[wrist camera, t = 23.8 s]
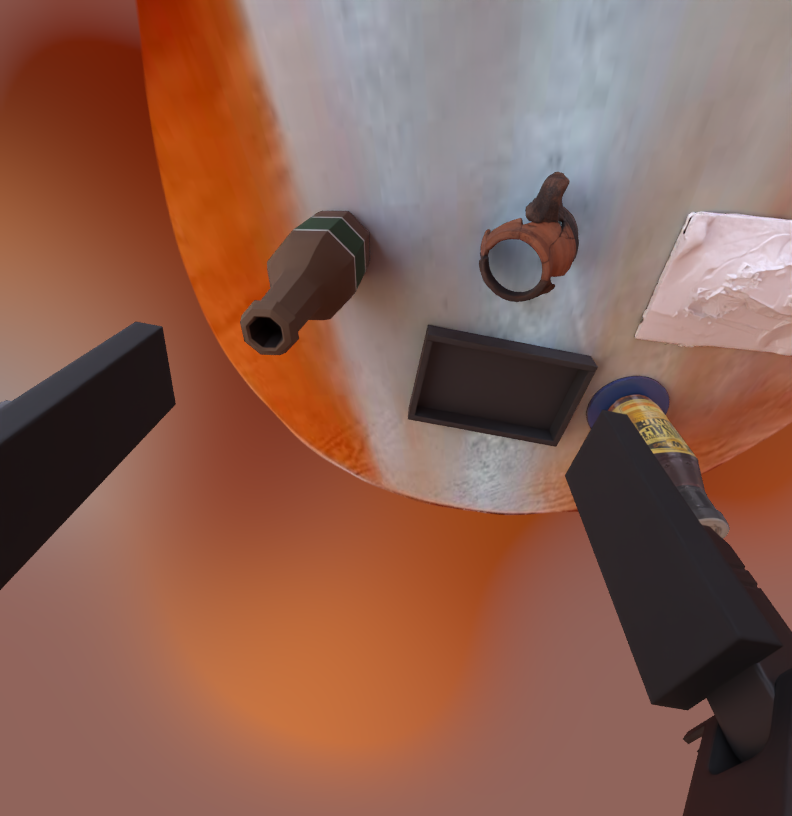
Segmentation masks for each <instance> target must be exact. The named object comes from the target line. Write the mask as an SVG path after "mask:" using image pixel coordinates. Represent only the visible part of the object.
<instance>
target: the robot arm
mask: <svg viewBox="0 0 792 816" xmlns="http://www.w3.org/2000/svg"><path fill="white" fill-rule="evenodd" d="M175 404H176V403H175V397H174V392H173V386H172V380H171V374H170V368H169V362H168V356H167V351H166V345H165V339H164V333H163V327H162V326H156V325H151V324H146V323H140V322H134V323H133V324H131V325H130V326H128V327H127V328H125V329H123V330H122V331H121V332H119V333H117V334H116V335H114V336H113V337H111V338H109V339H108V340H106V341H105V342H103V343H102V344H100V345H99V346H97V347H96V348H94V349H92V350H91V351H89V352H88V353H86V354H84V355H83V356H81V357H80V358H78V359H77V360H75V361H74V362H72V363H70V364H69V365H67V366H66V367H64V368H63V369H61V370H60V371H58V372H56V373H55V374H53V375H52V376H50V377H49V378H47V379H45V380H44V381H42V382H41V383H39V384H38V385H36V386H35V387H33V388H31V389H30V390H28V391H27V392H25V393H24V394H22V395H21V396H19V397H18V398H16V399H14V400H13V401H8V400H6V401H4V402H1V403H0V590H1V589H2V588H3V587H4V585H5V584H6V583H7V582H8V581H9V580H10V579H11V578H12V577H13V576H14V575H15V574H16V573H17V572H18V571H19V570H20V569H21V567H22V566H23V565H24V564H25V563H26V562H27V561H28V560H29V559H30V558H31V557H32V556H33V555H34V554H35V553H36V552H37V550H39V548H40V547H41V546H42V545H43V544H44V543H45V542H46V541H47V540H48V539H49V538H50V537H51V536H52V535H53V534H54V532H55V531H56V530H57V529H58V528H59V527H60V526H61V525H62V524H63V523H64V522H65V521H66V520H67V518H69V517H70V515H72V513H73V512H74V511H75V510H76V509H77V508H78V507H79V506H80V505H81V504H82V503H83V502H84V501H85V500H86V499H87V498H88V496H89V495H90V494H91V493H92V492H93V491H94V490H95V489H96V488H97V487H98V486H99V485H100V484H101V483H102V482H103V481H104V480H105V478H107V476H108V475H109V474H110V473H111V472H112V471H113V470H114V469H115V468H116V467H117V466H118V465H119V464H120V463H121V462H122V460H123V459H124V458H125V457H126V456H127V455H128V454H129V453H130V452H131V451H132V450H133V449H134V448H135V447H136V446H137V445H138V444H139V442H140V441H141V440H142V439H143V438H144V437H145V436H146V435H147V434H148V433H149V432H150V431H151V430H152V429H153V428H154V427H155V426H156V425H157V423H158V422H159V421H160V420H161V419H162V418H163V417H164V416H165V415H166V414H167V413H168V412H169V411H170V410H171V408H173V406H174V405H175ZM565 477H566V479H567V482H568V485H569V487H570V490H571V493H572V495H573V498H574V501H575V503H576V506H577V509H578V511H579V514H580V517H581V519H582V522H583V524H584V527H585V530H586V532H587V535H588V538H589V540H590V543H591V546H592V548H593V551H594V554H595V556H596V559H597V562H598V564H599V567H600V569H601V572H602V575H603V577H604V580H605V583H606V585H607V588H608V590H609V593H610V596H611V599H612V601H613V604H614V606H615V609H616V612H617V614H618V617H619V620H620V622H621V625H622V627H623V630H624V633H625V636H626V638H627V641H628V644H629V646H630V649H631V652H632V654H633V657H634V659H635V662H636V665H637V667H638V670H639V673H640V675H641V678H642V680H643V683H644V685H645V688H646V691H647V694H648V696H649V699H650V701H651V704H653V705H659V706H665V707H671V708H677V709H683V710H689V709H690V708H692V707H693V706H695V705H696V704H698V703H699V702H701V701H702V700H704V699H705V698H707V700H708V702H709V704H710V706H711V708H712V710H713V712H714V714H715V715H714V716H712V717H711V718H709V719H708V720H706V721H704V722H703V723H701V724H699V725H698V726H696V727H695V728H693V729H691V730H690V731H688V732H687V734H686V735H685V736H684V738H683V740H684V741H686V742H687V743H688V744H689V743H691V742H693V741H695V740H696V739H698V738H700V737H702V740H701V744H700V748H699V750H698V751H697V752H698V756H697V760H696V764H695V768H694V772H693V776H692V780H691V784H690V788H689V793H688V797H687V801H686V805H685V809H684V813H683V816H792V632H791V630H790V629H789V628H788V626H787V625H786V623H785V622H784V620H783V619H782V618H781V616H780V615H779V613H778V612H777V611H776V609H775V608H774V606H773V605H772V604H771V602H770V601H769V599H768V598H767V596H766V595H765V594H764V592H763V591H762V590H761V588H758V587H757V582H756V581H755V580H754V578H753V577H752V575H751V574H750V573H749V571H747V570H745V569H744V568H745V566H744V564H743V563H742V561H741V560H740V559H739V557H738V556H737V554H736V553H735V552H734V550H733V549H732V547H731V546H730V545H729V544H728V543H727V542H726V541H725V540H724V539H723V538H722V537H720V536H719V535H718V534H717V533H716V532H715V531H714V530H713V529H712V528H711V527H710V526H706V525H702V524H701V523H700V521H699V520H698V519H697V517H696V516H695V514H694V513H693V511H692V510H691V508H690V507H689V505H688V504H687V502H686V501H685V499H684V498H683V496H682V495H681V493H680V492H679V490H678V489H677V488H676V486H675V485H674V483H673V482H672V480H671V479H670V477H669V476H668V474H667V473H666V471H665V470H664V468H663V467H662V465H661V464H660V462H659V461H658V459H657V458H656V457H655V455H654V454H653V452H652V451H651V449H650V448H649V446H648V445H647V443H646V442H645V440H644V439H643V437H642V436H641V434H640V433H639V431H638V430H637V428H636V427H635V425H634V424H633V423H632V421H631V420H630V418H629V417H628V415H627V414H622V413H617V412H612V411H606V410H602V411H601V413H600V415H599V416H598V418H597V420H596V422H595V423H594V425H593V427H592V429H591V430H590V432H589V434H588V436H587V438H586V439H585V441H584V443H583V445H582V446H581V448H580V450H579V452H578V453H577V455H576V457H575V459H574V460H573V462H572V464H571V466H570V468H569V469H568V471H567V473H566V475H565Z"/></svg>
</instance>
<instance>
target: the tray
mask: <svg viewBox="0 0 792 816" xmlns="http://www.w3.org/2000/svg"><path fill="white" fill-rule="evenodd" d="M597 368H598V366H597V365H596V363H595V362H594V361H593V359H592V358H591V356H587V355H582V354H576V353H571V352H566V351H561V350H556V349H551V348H545V347H540V346H535V345H530V344H525V343H520V342H514V341H509V340H504V339H499V338H494V337H489V336H483V335H478V334H473V333H468V332H463V331H458V330H452V329H447V328H442V327H437V326H432V325H428V327H427V331H426V336H425V340H424V344H423V348H422V353H421V357H420V361H419V366H418V370H417V374H416V379H415V383H414V387H413V392H412V396H411V400H410V405H409V411H408V419H410V420H415V421H421V422H426V423H432V424H437V425H442V426H448V427H453V428H459V429H464V430H469V431H475V432H480V433H485V434H491V435H496V436H502V437H507V438H512V439H518V440H523V441H529V442H534V443H539V444H545V445H550V446H557V444H558V442H559V441H560V439H561V437H562V435H563V433H564V431H565V429H566V427H567V425H568V423H569V421H570V420H571V418H572V416H573V414H574V412H575V410H576V408H577V406H578V404H579V402H580V400H581V398H582V396H583V395H584V393H585V391H586V389H587V387H588V385H589V383H590V381H591V379H592V377H593V375H594V373H595V371H596V370H597Z"/></svg>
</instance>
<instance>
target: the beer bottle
mask: <svg viewBox="0 0 792 816" xmlns="http://www.w3.org/2000/svg"><path fill="white" fill-rule="evenodd" d="M369 262H370V246H369V232H368V231H367V230H366V229H365V228H364V227H363V226H362V224H361V223H360V222H359V221H358V220H357V219H356V218H355V217H354V216H353V215H352V214H351V213H350V212H349V211H321V212H318V213H316V214H315V215H314V216H312V217H311V218H309V219H308V220H307V221H305V222H304V223H302V224H301V225H300V226H298V227H297V228H295V229H294V230H293V231H292V232H291V233H290V234H289V235H288V236H287V238H286V239H285V240H284V241H283V243H282V244H281V245H280V246H279V248H278V249H277V250H276V251H275V253H274V254H273V255H272V256H271V258H270V259H269V260H268V261H267V270H268V276H269V282H270V287H271V288H270V289H269V291H268V292H267V293H266V295H265V296H264V297H263V298H262V300H261V301H257V300H254V301H253V303H252V304H251V305H250V306H249V308H248V309H247V310H246V311H245V312H244V314H243V315H242V317H241V321H240V324H241V328H242V333H243V337H244V341H245V342H246V343H247V344H248V345H250V346H251V347H252V348H253V349H255V350H256V351H257V352H258V353H260V354H262V355H281V354H284V353H286V352H287V351H288V350H289V349H290V348H291V347H292V345H293V344H294V343H295V342H296V341H297V340H298V339H299V335H298V331H299V330H300V329H301V328H302V327H303V325H304V324H305V323H306V322H307V321H308V320H327V319H331V318H332V317H333V316H334V315H335V314H336V312H337V311H338V310H339V309H340V308H341V307H342V306H343V305H344V304H345V303H346V302H347V301H348V300H349V299H350V298H351V297H352V296H353V294H354V293H355V292H356V290H357V288H358V286H359V284H360V282H361V280H362V278H363V276H364V274H365V272H366V269H367V267H368V265H369Z"/></svg>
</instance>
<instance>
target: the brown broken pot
mask: <svg viewBox="0 0 792 816" xmlns="http://www.w3.org/2000/svg"><path fill="white" fill-rule="evenodd" d="M568 184H569V179H568V178H567V177H566V176H565V175H564V174H563V173H560V172H555V173H553V174H552V175H550V176H548V178H547V179H546V180H545V182H544V183H543V185H542V187H541V189H540V192H539V194H538V196H537V198H535V199H534V200H533V202H531V203H530V204H529V205H528V206H527V207H526V210H525V211H526V218H527V219H528V220H529V221H531V223H528V224H523V222H522V218H519V219H516V220H512V221H510V222H507V223H504V224H502V225H501V226H499V227H498V228H496V229H494V230H493V231H492V232H491V233H490V230H489V229H488V230H486V232H485V234H484V237H483V239H482V243H481V253H480V256H481V260H480V261H479V267H480V272H481V275H482V278H483V280H484V282H485V284H486V285H487V286H488V287H489V288H490V289H491V290H492V291H493V292H494V293H495V294H496V295H498V296H499V297H501V298H503V299H505V300H508V301H514V302H519V301H520V302H521V301H526V300H530V299H533V298H535V297H538V296H540V295H542V294H545V293H548V292H550V291H551V290H553V289H554V287H555V285H554V284H552V283H551V280H550V277H552V276H553V277H557V276H563V275H565V274H566V272H567V271H568V270H569V269H570V267H571V265H572V262H573V261H574V259H575V258H576V254H577V251H578V246H579V239H578V228H577V224H576V221H575V219H574V217H573V215H572V214H571V213H570V212H569V211H568V210H567V209H566V208H565V207H563V205H562V197H563V194H564V192H565V191H566V189H567V186H568ZM558 221H561V222H562V224H561V226H560V224H559V223H558ZM507 239H520V240H522V241H524V242H526V243H527V244H529V245H530V246H531V247H532V248H533V249H534V250H535V251H536V252H537V254H538V255H539V257H540V260H541V262H542V276H541V280H540V281H539V283H538V284H537V285H536V286H535V287H534V288H533V289H531V290H529V291H526V292H514V291H511V290H508V289H506V288H505V287H503V286H502V285H501V284H499V283H498V281H497V280H496V279H495V278H494V276H493V275H492V273H491V271H490V267H489V257H488V254H489V250H490V249H492V248H493V247H494V246H495V245H496V244H497V243H499V242H500V241H503V240H507Z"/></svg>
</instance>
